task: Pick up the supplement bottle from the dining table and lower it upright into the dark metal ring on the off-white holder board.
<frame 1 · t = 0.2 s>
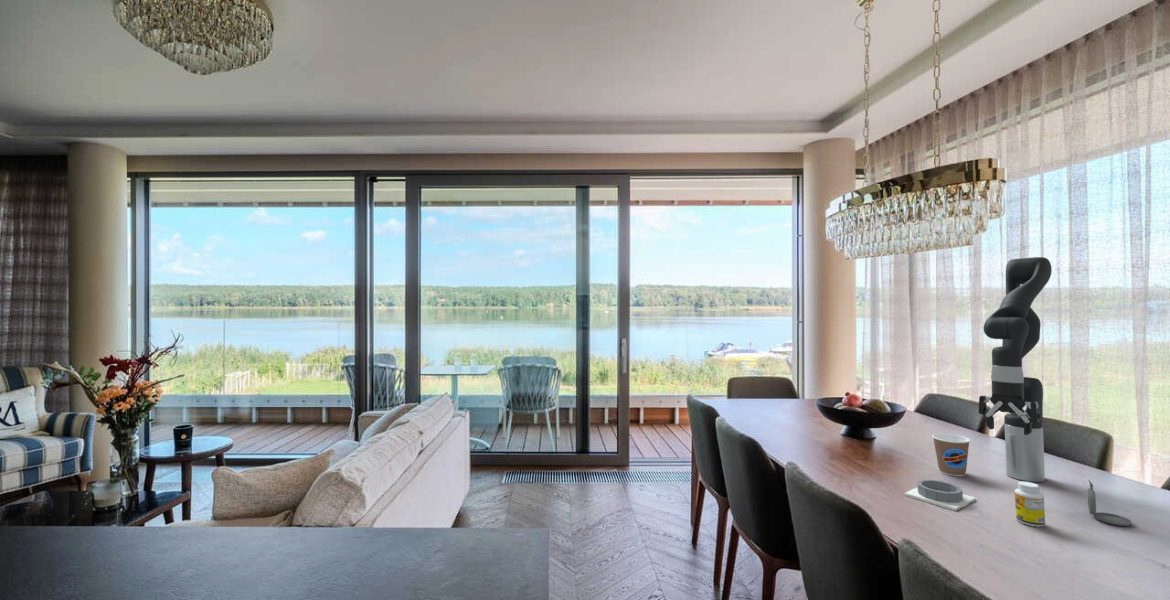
hand: (1008, 431, 144), 17 cm above the table, tool pointing down, fingers open, 8 cm apart
ring holder: (939, 497, 138), on the table
supplement bottle: (1030, 523, 121), on the table
coffee cup: (952, 473, 157), on the table
pocket watch: (1105, 520, 122), on the table
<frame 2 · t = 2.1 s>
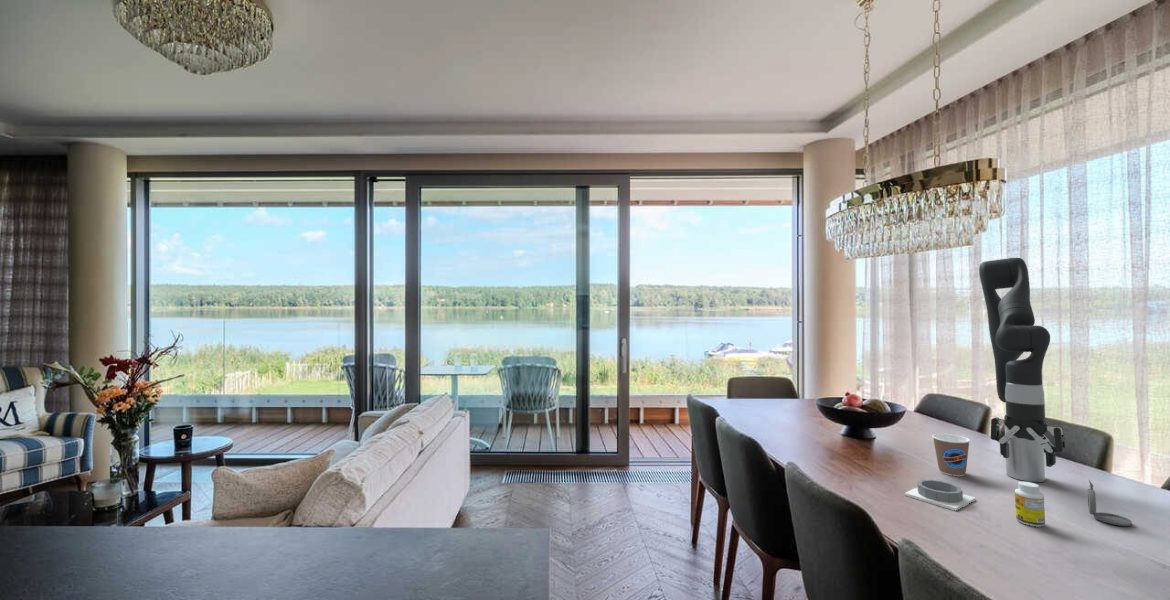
hand: (1027, 461, 121), 16 cm above the table, tool pointing down, fingers open, 8 cm apart
nothing on the table moved.
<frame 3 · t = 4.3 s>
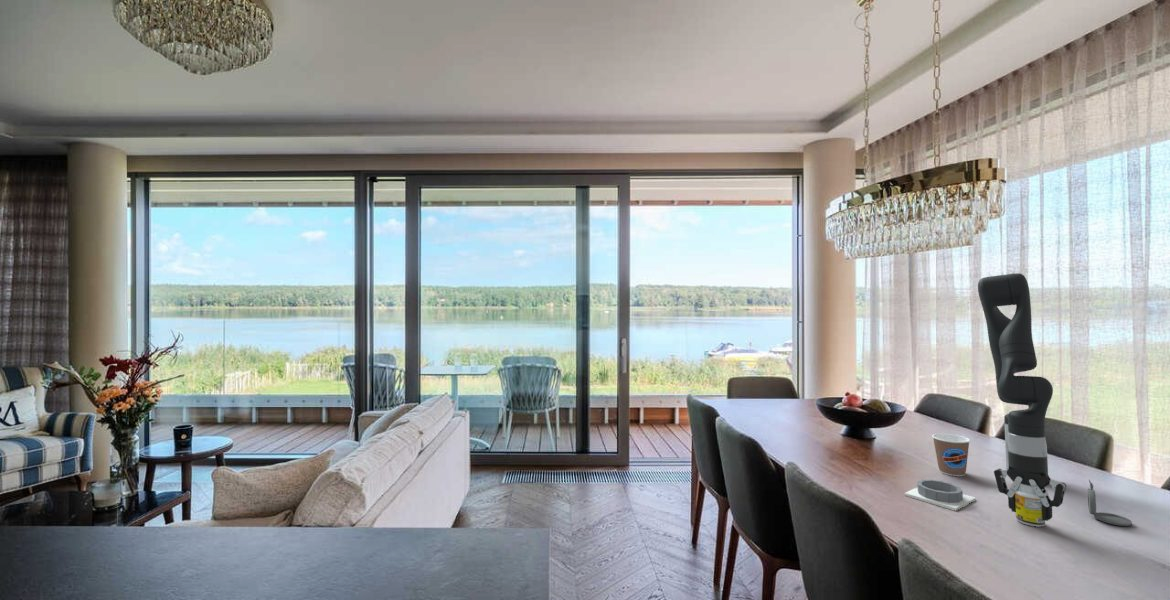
hand: (1029, 515, 121), 2 cm above the table, tool pointing down, fingers closed on supplement bottle, 5 cm apart
supplement bottle: (1030, 523, 121), on the table, touching gripper
everything else where it was.
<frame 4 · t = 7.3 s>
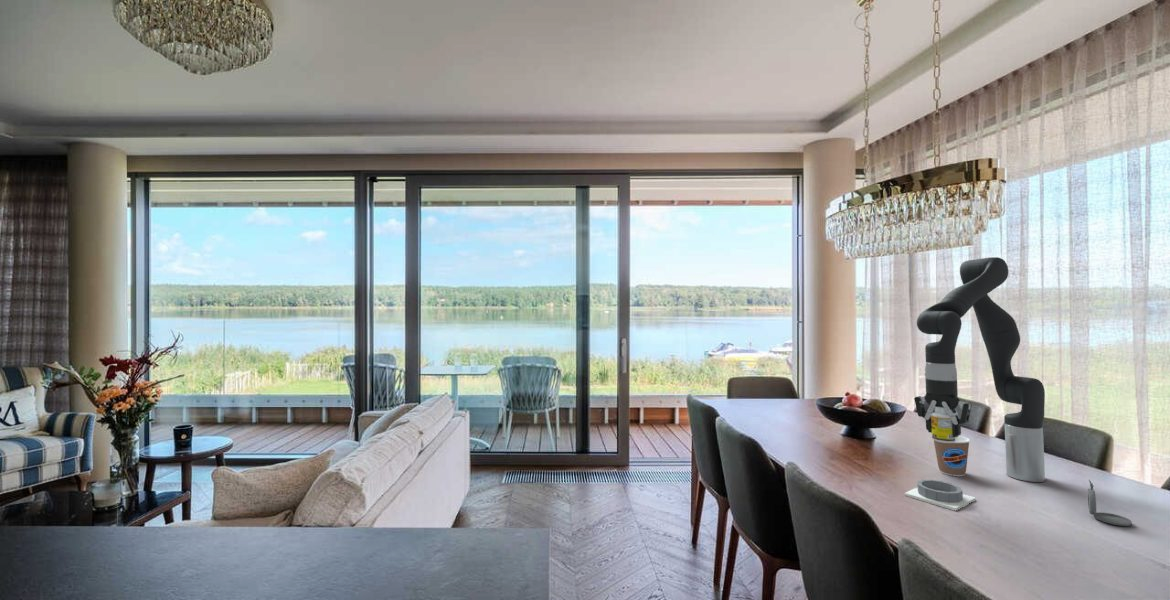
hand: (943, 434, 137), 19 cm above the table, tool pointing down, fingers closed on supplement bottle, 5 cm apart
supplement bottle: (943, 441, 137), point 17 cm above the table, touching gripper
everything else where it was.
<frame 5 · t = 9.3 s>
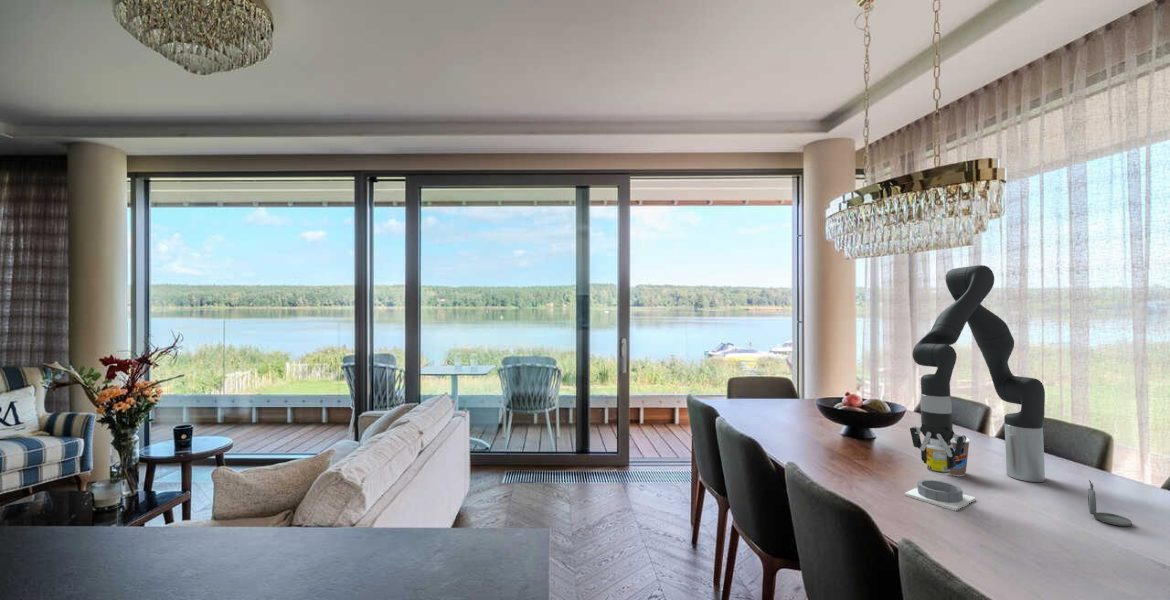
hand: (938, 465, 138), 10 cm above the table, tool pointing down, fingers closed on supplement bottle, 5 cm apart
supplement bottle: (938, 473, 138), point 7 cm above the table, touching gripper
everything else where it was.
when the fingers open (5 cm above the table, at t = 10.8 s): supplement bottle drops 2 cm, resting on ring holder.
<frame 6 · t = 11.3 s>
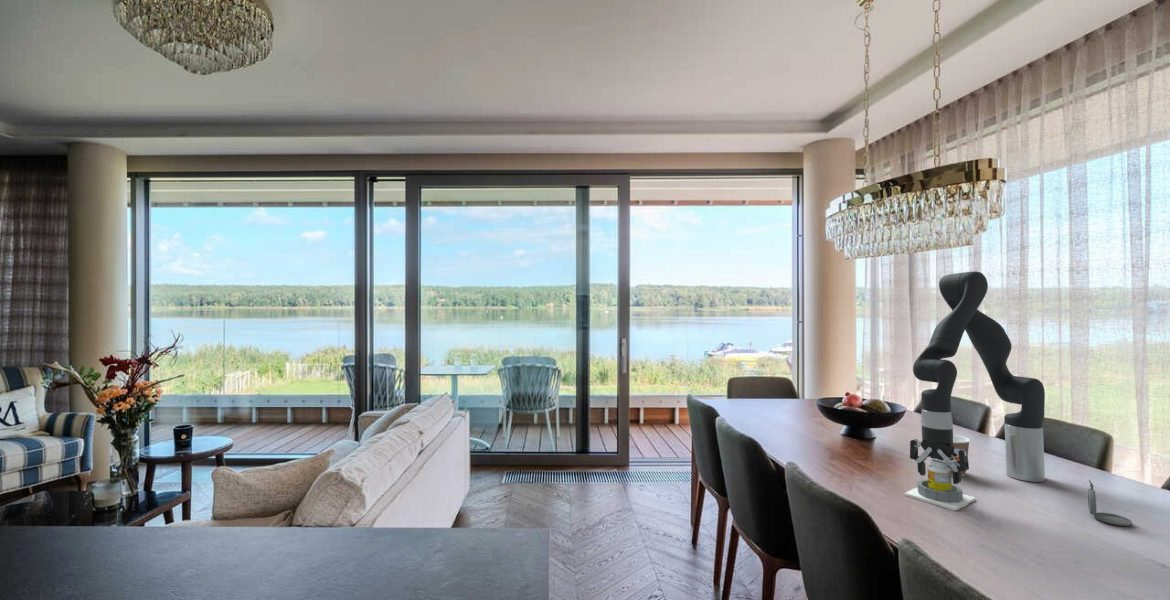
hand: (938, 479, 138), 6 cm above the table, tool pointing down, fingers open, 8 cm apart
supplement bottle: (940, 495, 138), point 1 cm above the table, touching ring holder
everything else where it was.
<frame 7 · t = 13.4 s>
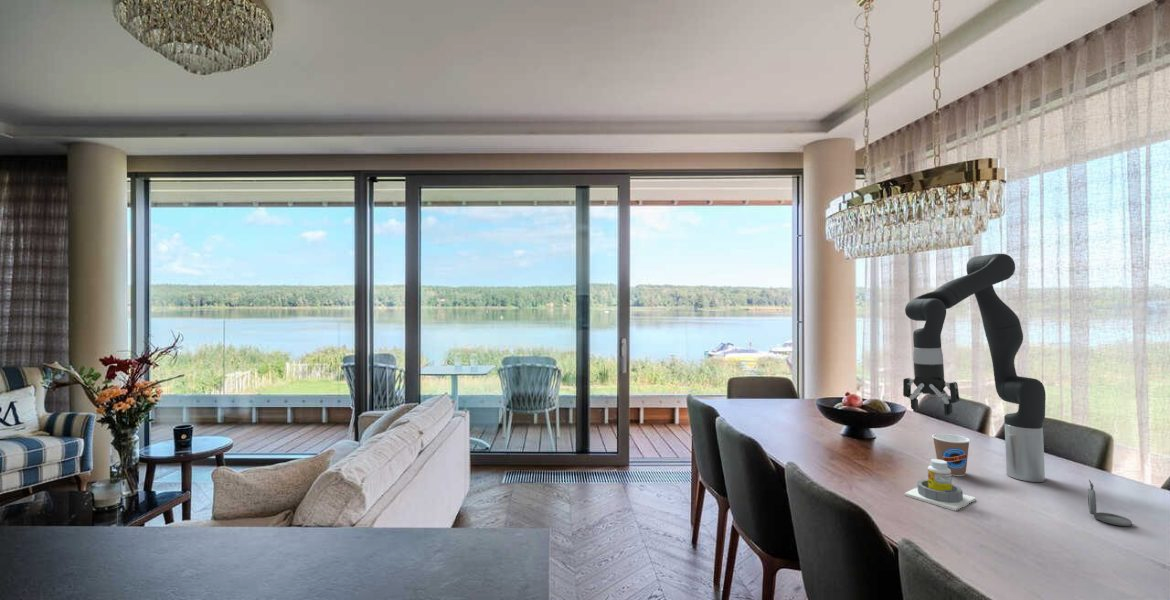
hand: (931, 413, 144), 24 cm above the table, tool pointing down, fingers open, 8 cm apart
nothing on the table moved.
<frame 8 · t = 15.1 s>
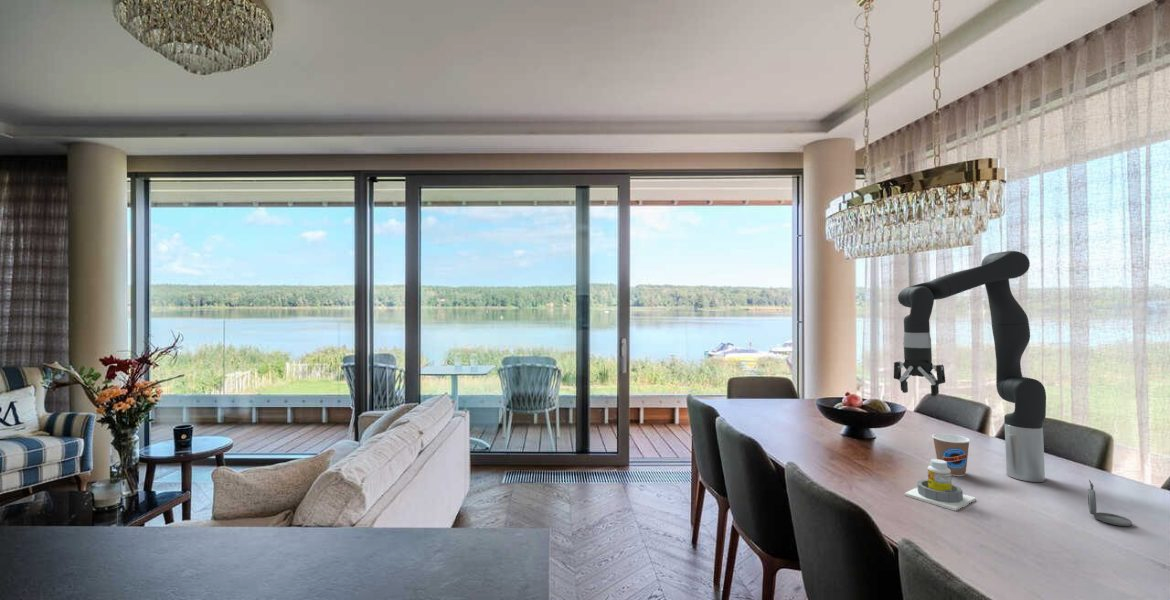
hand: (919, 394, 153), 28 cm above the table, tool pointing down, fingers open, 8 cm apart
nothing on the table moved.
at the end: supplement bottle 0.2 cm off-centre on the ring holder, point 0.6 cm above the ring holder's base; supplement bottle tilted 0°; the gripper is holding nothing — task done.
